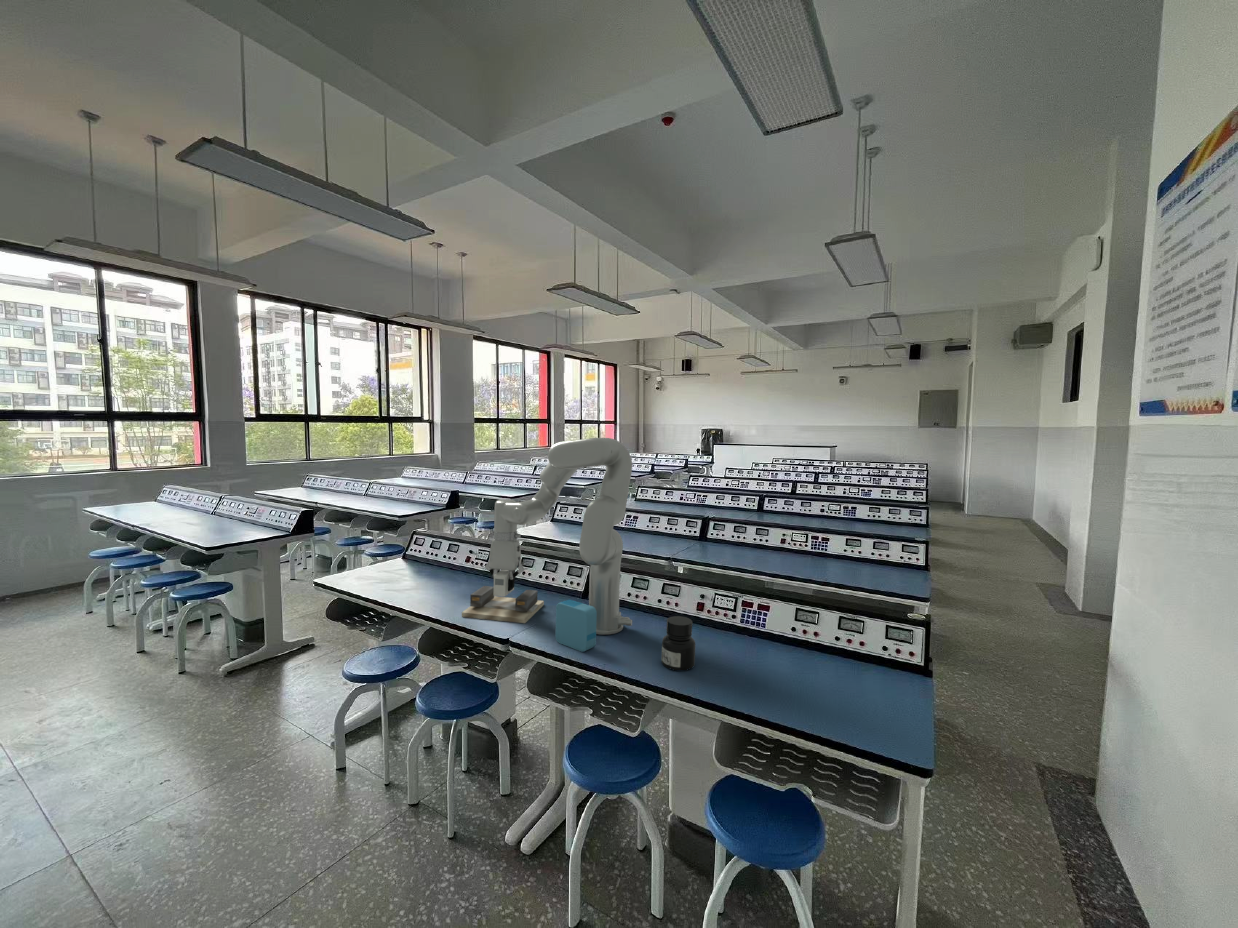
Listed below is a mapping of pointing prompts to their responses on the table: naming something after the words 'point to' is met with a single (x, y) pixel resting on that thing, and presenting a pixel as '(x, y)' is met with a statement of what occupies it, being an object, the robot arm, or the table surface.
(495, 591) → the block
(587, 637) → the light blue flat block
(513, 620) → the rail board
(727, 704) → the table surface
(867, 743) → the table surface
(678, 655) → the ink bottle
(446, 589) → the table surface
